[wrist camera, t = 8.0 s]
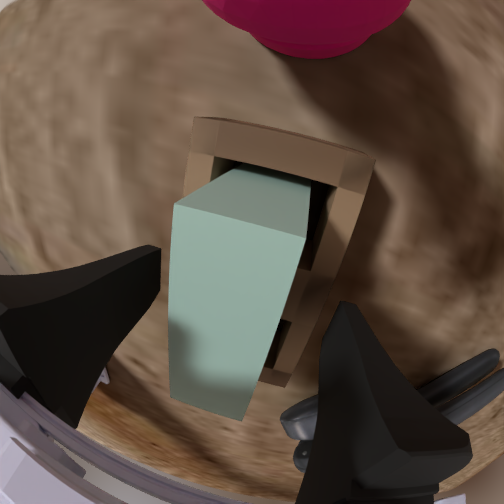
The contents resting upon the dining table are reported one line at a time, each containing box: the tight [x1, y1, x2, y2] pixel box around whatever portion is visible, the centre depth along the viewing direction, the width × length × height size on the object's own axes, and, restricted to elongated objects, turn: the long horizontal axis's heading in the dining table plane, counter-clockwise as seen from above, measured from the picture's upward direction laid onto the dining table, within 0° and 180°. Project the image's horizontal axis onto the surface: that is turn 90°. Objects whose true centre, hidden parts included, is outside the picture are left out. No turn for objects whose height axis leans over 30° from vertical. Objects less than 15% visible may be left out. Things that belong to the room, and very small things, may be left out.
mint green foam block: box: [168, 163, 311, 421], centre depth 11 cm, size 8×3×7 cm, turn 169°
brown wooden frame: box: [183, 117, 376, 388], centre depth 13 cm, size 12×6×3 cm, turn 169°
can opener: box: [280, 349, 504, 473], centre depth 14 cm, size 18×7×6 cm, turn 120°
